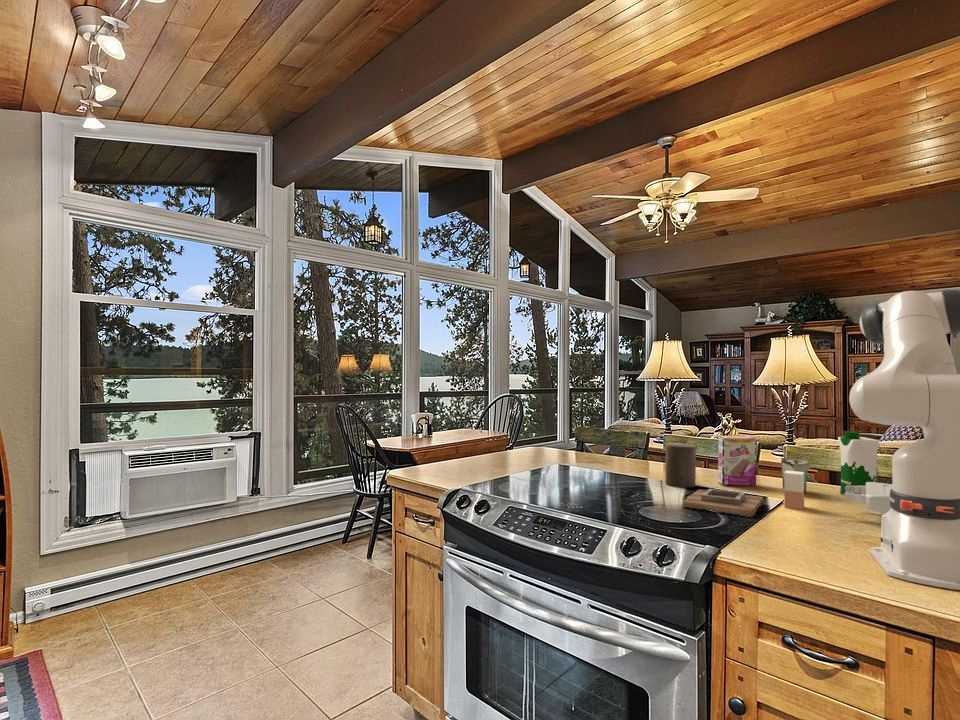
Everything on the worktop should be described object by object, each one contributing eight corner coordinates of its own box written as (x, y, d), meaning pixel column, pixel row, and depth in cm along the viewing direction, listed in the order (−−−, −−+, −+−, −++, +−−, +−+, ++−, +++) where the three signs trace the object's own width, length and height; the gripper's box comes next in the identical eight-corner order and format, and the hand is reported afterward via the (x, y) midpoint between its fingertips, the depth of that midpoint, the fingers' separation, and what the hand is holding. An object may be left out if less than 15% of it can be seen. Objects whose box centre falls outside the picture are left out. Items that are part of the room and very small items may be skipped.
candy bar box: (722, 486, 183) (722, 437, 183) (717, 483, 188) (717, 435, 188) (757, 486, 181) (757, 438, 182) (751, 483, 186) (751, 436, 187)
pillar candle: (672, 487, 181) (672, 442, 181) (661, 481, 190) (661, 438, 190) (700, 487, 181) (701, 443, 181) (688, 481, 191) (688, 438, 191)
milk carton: (835, 492, 172) (834, 430, 173) (864, 492, 172) (863, 430, 172) (853, 499, 164) (853, 433, 164) (884, 499, 163) (883, 433, 164)
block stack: (802, 510, 152) (802, 474, 152) (784, 507, 155) (784, 472, 155) (804, 506, 156) (803, 472, 156) (786, 504, 159) (786, 470, 159)
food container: (816, 497, 167) (816, 464, 167) (794, 496, 169) (794, 464, 169) (801, 488, 179) (801, 457, 180) (781, 487, 181) (781, 457, 181)
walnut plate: (752, 518, 145) (752, 505, 145) (682, 508, 155) (682, 495, 155) (762, 503, 159) (762, 492, 159) (698, 495, 170) (698, 484, 170)
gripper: (906, 479, 149) (845, 474, 157) (911, 495, 132) (843, 487, 141) (906, 502, 149) (846, 495, 157) (911, 520, 132) (843, 512, 140)
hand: (844, 492), depth 149 cm, fingers open, 8 cm apart
